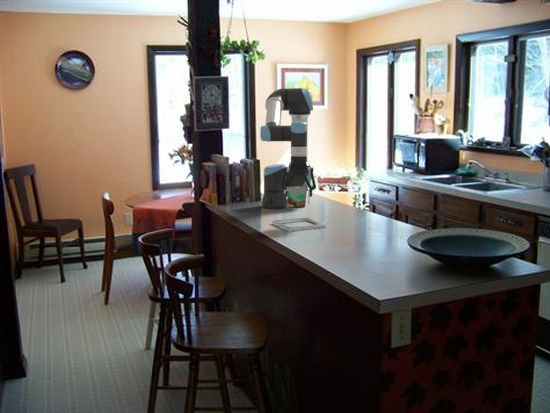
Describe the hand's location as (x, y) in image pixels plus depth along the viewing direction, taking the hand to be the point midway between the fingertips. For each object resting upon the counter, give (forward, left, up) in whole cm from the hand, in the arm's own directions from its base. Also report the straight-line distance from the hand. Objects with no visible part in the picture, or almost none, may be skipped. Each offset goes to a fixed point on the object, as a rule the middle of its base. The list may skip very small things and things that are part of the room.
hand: (298, 203), depth 283 cm
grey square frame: (0, 0, -11) cm, 11 cm away
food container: (0, 0, -2) cm, 2 cm away
